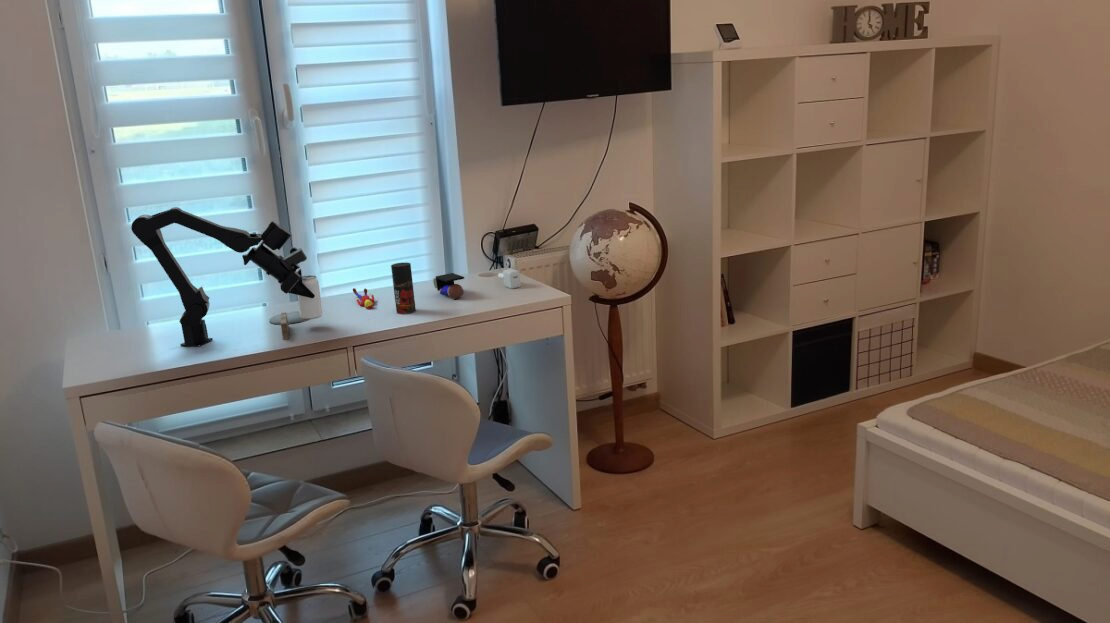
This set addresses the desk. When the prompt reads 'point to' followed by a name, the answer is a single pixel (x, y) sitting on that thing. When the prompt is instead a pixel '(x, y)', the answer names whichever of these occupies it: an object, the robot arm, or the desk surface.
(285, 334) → the partition
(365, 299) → the character figure
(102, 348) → the desk surface
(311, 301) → the can
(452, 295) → the figurine character
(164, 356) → the desk surface
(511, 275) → the power adapter
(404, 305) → the deodorant
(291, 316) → the pad
